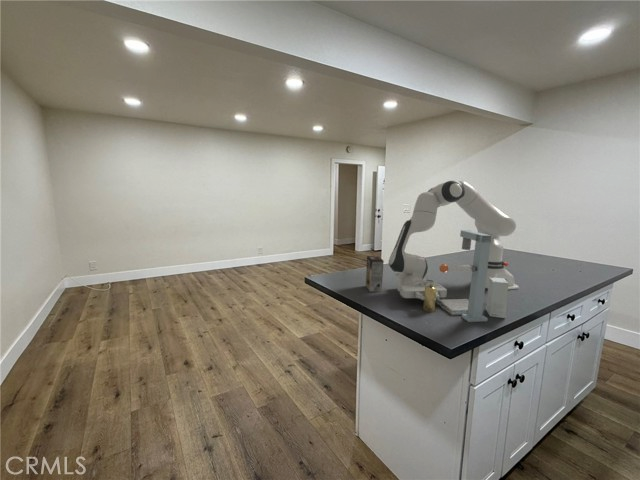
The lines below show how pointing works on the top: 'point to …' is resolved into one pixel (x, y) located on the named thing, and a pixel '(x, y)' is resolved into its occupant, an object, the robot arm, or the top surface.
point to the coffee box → (374, 273)
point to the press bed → (455, 306)
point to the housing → (430, 298)
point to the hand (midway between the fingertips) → (431, 298)
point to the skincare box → (497, 297)
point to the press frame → (477, 273)
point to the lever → (457, 268)
